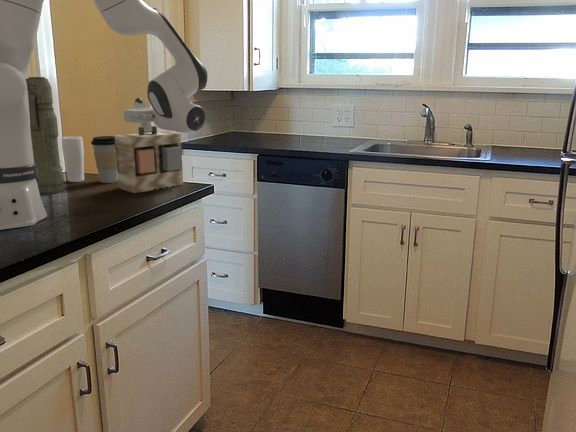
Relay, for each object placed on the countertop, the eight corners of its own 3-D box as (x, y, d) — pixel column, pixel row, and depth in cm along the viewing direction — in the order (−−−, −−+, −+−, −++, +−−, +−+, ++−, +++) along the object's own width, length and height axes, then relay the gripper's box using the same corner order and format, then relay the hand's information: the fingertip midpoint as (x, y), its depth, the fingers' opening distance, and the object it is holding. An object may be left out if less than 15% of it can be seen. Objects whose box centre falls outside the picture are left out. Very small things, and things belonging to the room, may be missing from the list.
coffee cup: (115, 184, 188) (111, 139, 184) (89, 183, 190) (85, 138, 186) (127, 179, 197) (124, 136, 193) (102, 178, 199) (99, 135, 195)
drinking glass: (79, 183, 190) (75, 138, 186) (61, 182, 191) (56, 138, 188) (90, 179, 196) (86, 136, 193) (72, 178, 198) (68, 135, 194)
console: (134, 193, 175) (129, 130, 170) (118, 188, 182) (113, 127, 177) (183, 184, 187) (180, 126, 182) (167, 180, 194) (163, 123, 189)
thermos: (28, 195, 172) (14, 77, 163) (40, 187, 184) (27, 76, 174) (58, 195, 173) (46, 77, 164) (68, 187, 184) (57, 76, 175)
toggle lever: (145, 131, 179) (135, 96, 179) (141, 133, 180) (132, 99, 181) (153, 130, 181) (143, 96, 181) (150, 133, 182) (140, 99, 183)
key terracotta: (140, 173, 175) (139, 151, 173) (129, 170, 180) (128, 148, 178) (155, 171, 178) (153, 149, 176) (143, 168, 183) (142, 147, 181)
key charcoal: (168, 171, 179) (166, 149, 177) (156, 168, 184) (155, 146, 182) (181, 169, 182) (180, 147, 180) (169, 166, 187) (168, 145, 185)
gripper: (136, 128, 164) (115, 124, 174) (196, 123, 178) (172, 120, 188) (135, 106, 163) (113, 104, 173) (195, 102, 176) (171, 100, 186)
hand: (144, 112), depth 180 cm, fingers closed, pressing on toggle lever
